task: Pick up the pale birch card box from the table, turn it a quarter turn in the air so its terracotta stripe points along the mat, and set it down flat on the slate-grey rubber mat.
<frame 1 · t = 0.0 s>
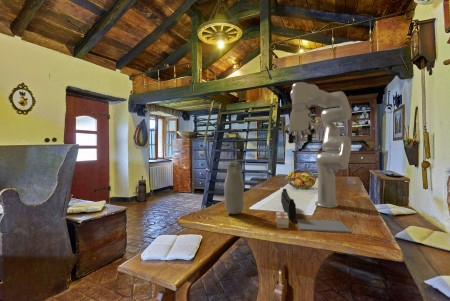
hand: (300, 143, 116), 37 cm above the table, tool pointing down, fingers open, 9 cm apart
mat: (321, 226, 105), on the table
card box: (282, 224, 108), on the table
glass bottle: (234, 214, 125), on the table
magazine: (287, 213, 125), on the table
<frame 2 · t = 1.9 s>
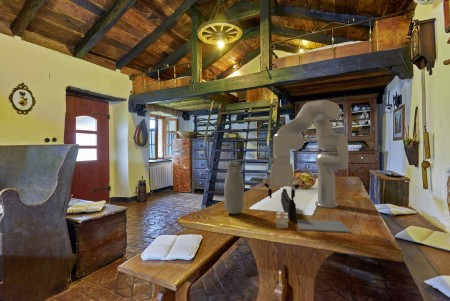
hand: (281, 198, 107), 12 cm above the table, tool pointing down, fingers open, 9 cm apart
nothing on the table moved.
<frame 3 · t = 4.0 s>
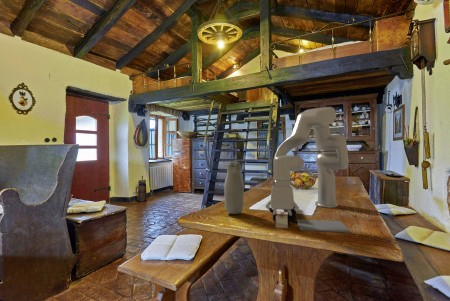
hand: (282, 222, 108), 1 cm above the table, tool pointing down, fingers closed on card box, 5 cm apart
card box: (282, 224, 108), on the table, touching gripper
everything else where it was.
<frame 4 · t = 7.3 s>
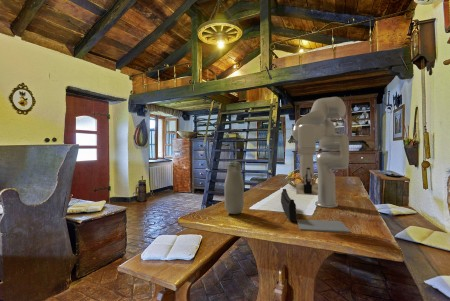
hand: (306, 191, 105), 15 cm above the table, tool pointing down, fingers closed on card box, 5 cm apart
card box: (306, 193, 105), point 14 cm above the table, touching gripper
everything else where it was.
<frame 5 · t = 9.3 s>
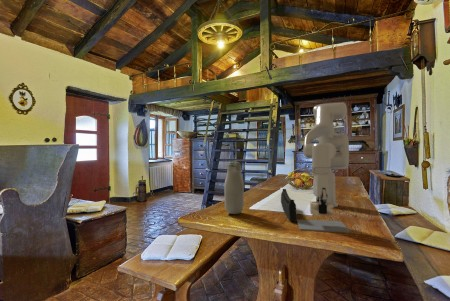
hand: (321, 211, 104), 7 cm above the table, tool pointing down, fingers closed on card box, 5 cm apart
card box: (321, 213, 104), point 6 cm above the table, touching gripper
everything else where it was.
when the fingers open (3 cm above the table, at t = 10.9 s): card box drops 1 cm, resting on mat.
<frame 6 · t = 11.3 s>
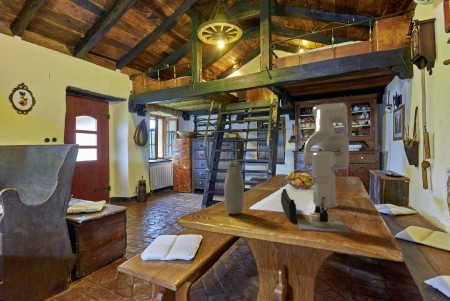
hand: (321, 218, 104), 4 cm above the table, tool pointing down, fingers open, 9 cm apart
card box: (321, 224, 105), point 1 cm above the table, touching mat
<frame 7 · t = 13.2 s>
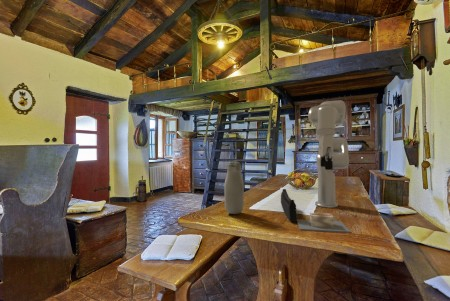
hand: (326, 168, 114), 25 cm above the table, tool pointing down, fingers open, 9 cm apart
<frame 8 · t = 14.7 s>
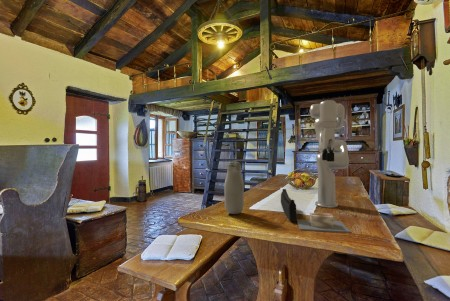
hand: (327, 160, 116), 28 cm above the table, tool pointing down, fingers open, 9 cm apart
at the end: card box inside the target area on the mat (0.0 cm from its centre), point 0.6 cm above the mat's base; card box tilted 0°; the gripper is holding nothing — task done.
